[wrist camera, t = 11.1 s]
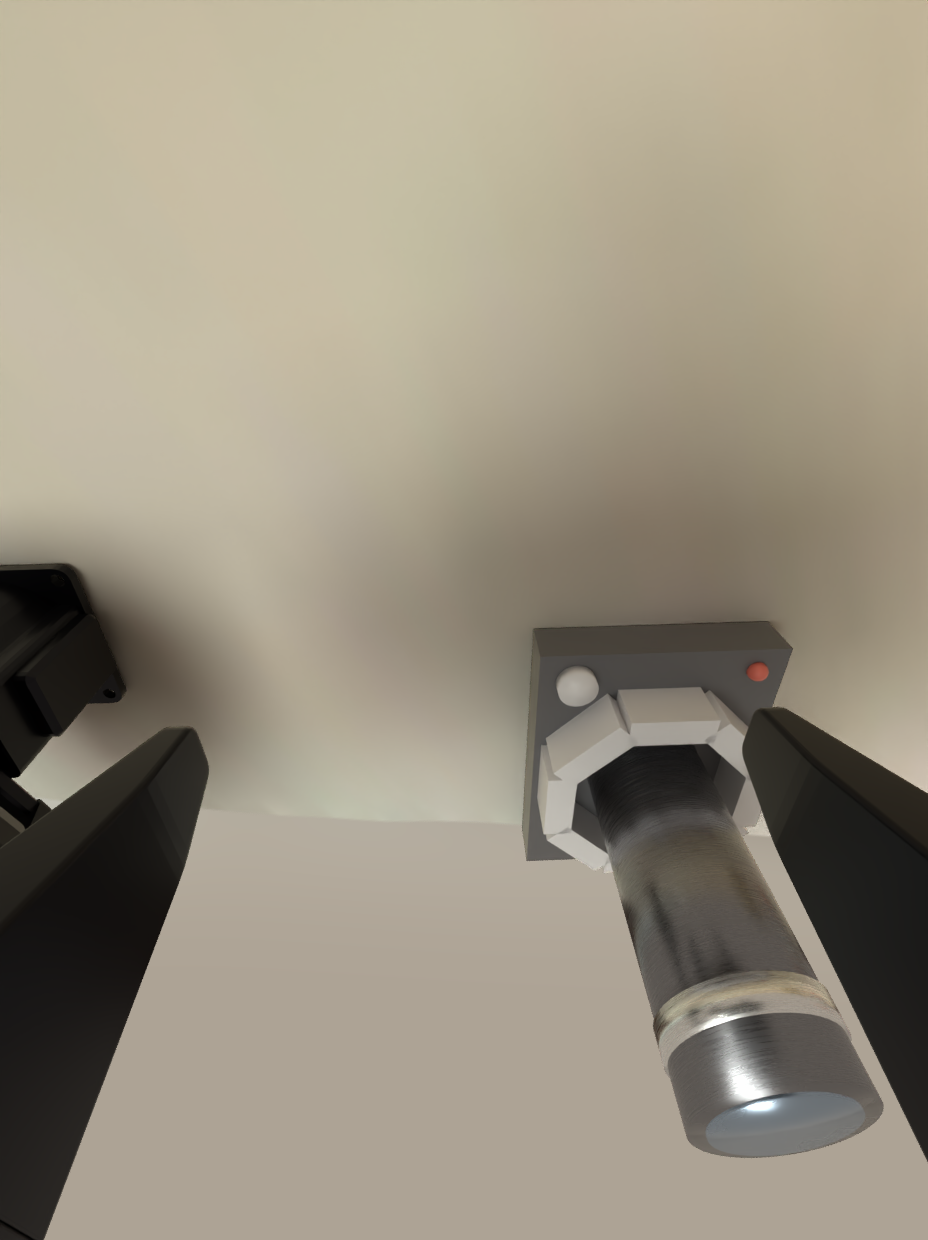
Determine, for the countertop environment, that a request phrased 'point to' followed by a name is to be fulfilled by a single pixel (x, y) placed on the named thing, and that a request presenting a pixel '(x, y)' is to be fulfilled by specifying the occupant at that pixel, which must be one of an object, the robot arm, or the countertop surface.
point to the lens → (724, 969)
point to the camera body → (639, 717)
